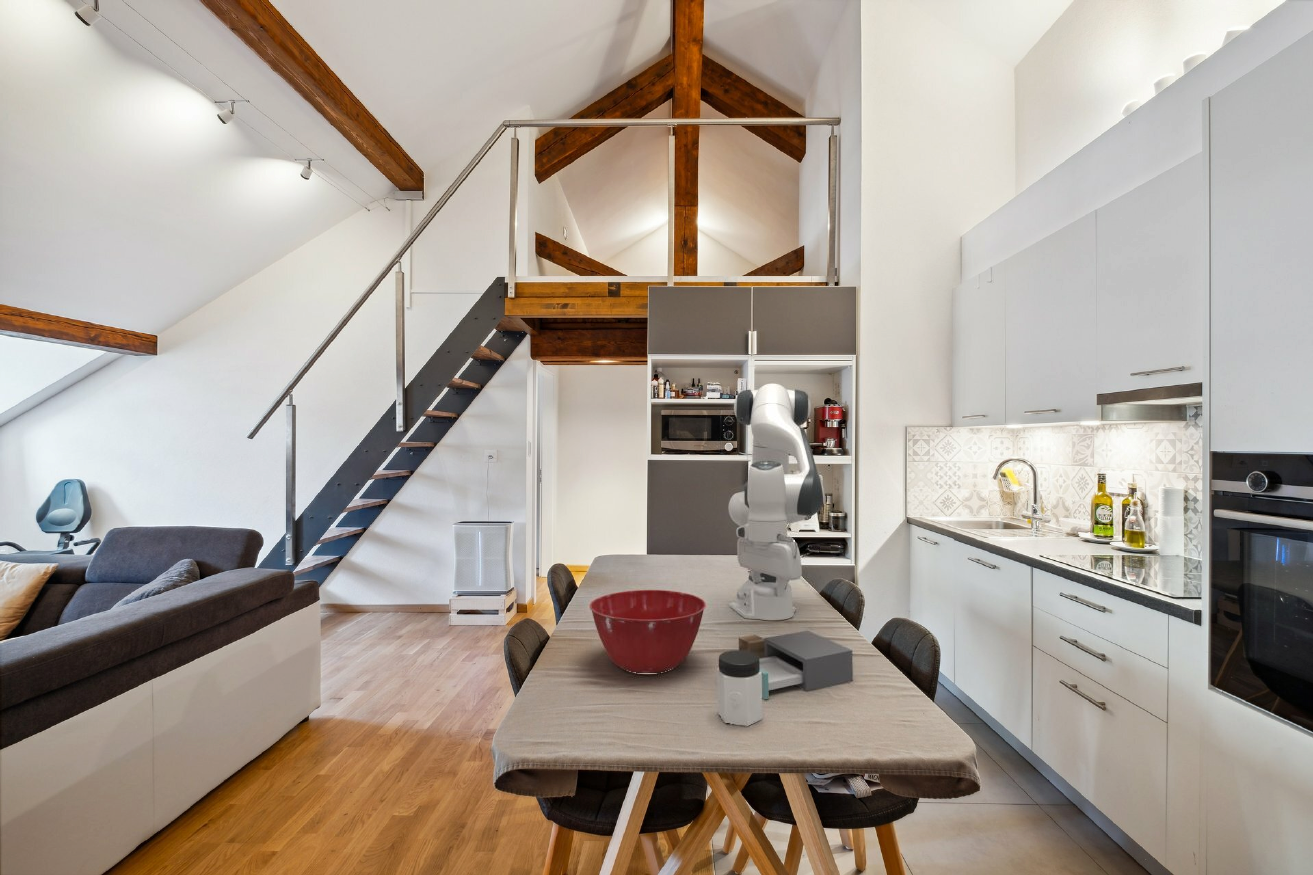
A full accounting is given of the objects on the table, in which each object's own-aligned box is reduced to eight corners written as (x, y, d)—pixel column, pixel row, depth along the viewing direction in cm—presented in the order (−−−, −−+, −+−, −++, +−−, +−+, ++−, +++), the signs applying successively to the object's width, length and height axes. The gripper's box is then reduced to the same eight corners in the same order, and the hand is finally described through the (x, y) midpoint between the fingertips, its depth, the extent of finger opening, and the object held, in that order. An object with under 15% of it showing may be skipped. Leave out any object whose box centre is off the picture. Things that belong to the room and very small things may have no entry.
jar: (713, 723, 122) (712, 662, 122) (721, 705, 130) (721, 648, 130) (759, 728, 120) (758, 666, 120) (765, 710, 127) (764, 652, 127)
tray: (726, 673, 147) (726, 651, 147) (771, 665, 152) (771, 642, 152) (764, 699, 132) (764, 673, 132) (812, 688, 138) (812, 664, 138)
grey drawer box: (764, 666, 151) (764, 638, 151) (808, 658, 157) (807, 630, 157) (806, 691, 137) (805, 659, 137) (852, 680, 142) (852, 650, 142)
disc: (772, 588, 147) (772, 581, 147) (789, 594, 141) (789, 586, 141) (748, 592, 144) (748, 584, 144) (765, 597, 138) (765, 589, 138)
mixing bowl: (637, 638, 174) (636, 583, 174) (727, 658, 157) (726, 597, 157) (566, 671, 151) (565, 607, 151) (663, 698, 134) (662, 626, 134)
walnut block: (739, 657, 158) (738, 637, 158) (755, 653, 160) (755, 634, 160) (749, 663, 154) (749, 643, 154) (766, 660, 156) (766, 640, 156)
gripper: (808, 536, 135) (809, 600, 134) (753, 526, 153) (755, 583, 153) (784, 538, 132) (785, 604, 132) (732, 528, 150) (733, 586, 150)
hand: (768, 592), depth 142 cm, fingers closed on disc, 7 cm apart
